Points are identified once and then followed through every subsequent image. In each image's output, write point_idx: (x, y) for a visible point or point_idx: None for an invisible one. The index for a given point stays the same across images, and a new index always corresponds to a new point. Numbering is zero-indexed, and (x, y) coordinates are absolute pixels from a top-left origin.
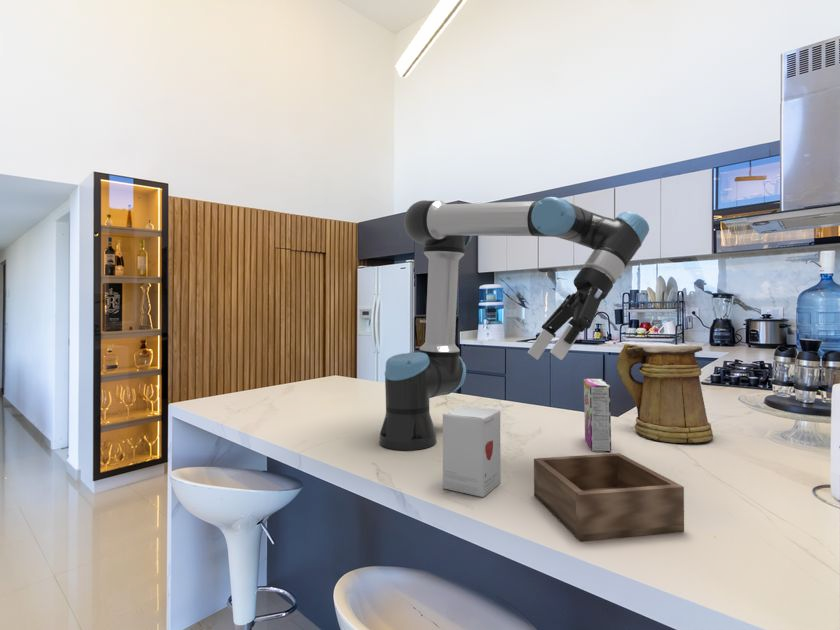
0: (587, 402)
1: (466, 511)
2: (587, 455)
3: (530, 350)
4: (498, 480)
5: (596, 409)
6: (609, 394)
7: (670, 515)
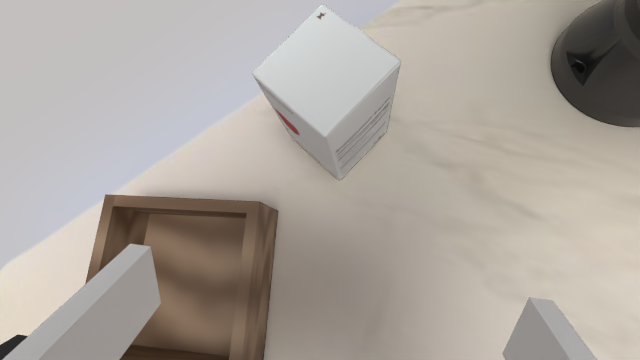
0: None
1: (257, 104)
2: (244, 315)
3: (538, 316)
4: (329, 171)
5: None
6: None
7: None
